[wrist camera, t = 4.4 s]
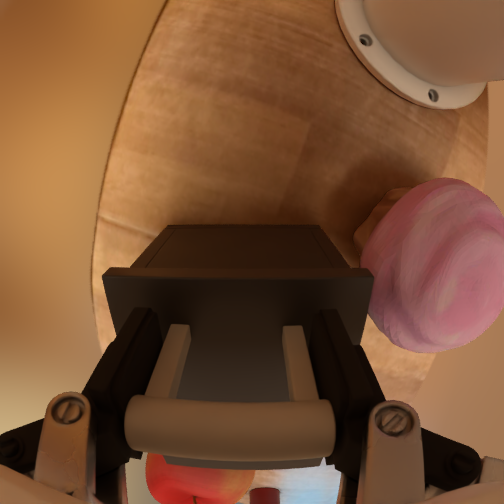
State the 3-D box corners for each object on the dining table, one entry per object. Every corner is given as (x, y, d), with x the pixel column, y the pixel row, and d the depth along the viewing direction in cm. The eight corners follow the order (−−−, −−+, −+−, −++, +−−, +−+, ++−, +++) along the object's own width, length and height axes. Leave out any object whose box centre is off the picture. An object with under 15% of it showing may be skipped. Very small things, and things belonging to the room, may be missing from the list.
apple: (204, 450, 28) (196, 524, 18) (138, 407, 25) (112, 489, 16) (273, 423, 26) (279, 511, 16) (205, 373, 23) (188, 477, 14)
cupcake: (385, 138, 16) (496, 149, 7) (458, 217, 18) (553, 272, 9) (303, 247, 19) (347, 347, 10) (389, 307, 21) (450, 401, 11)
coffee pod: (249, 487, 32) (249, 512, 28) (280, 487, 32) (281, 511, 28) (249, 496, 34) (249, 519, 30) (278, 496, 34) (279, 518, 30)
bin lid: (109, 266, 10) (20, 368, 5) (367, 267, 10) (450, 377, 5) (168, 454, 15) (153, 530, 10) (318, 456, 15) (330, 533, 10)
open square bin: (167, 224, 18) (114, 284, 11) (319, 224, 18) (363, 286, 11) (187, 372, 23) (168, 453, 15) (302, 373, 23) (318, 456, 15)
